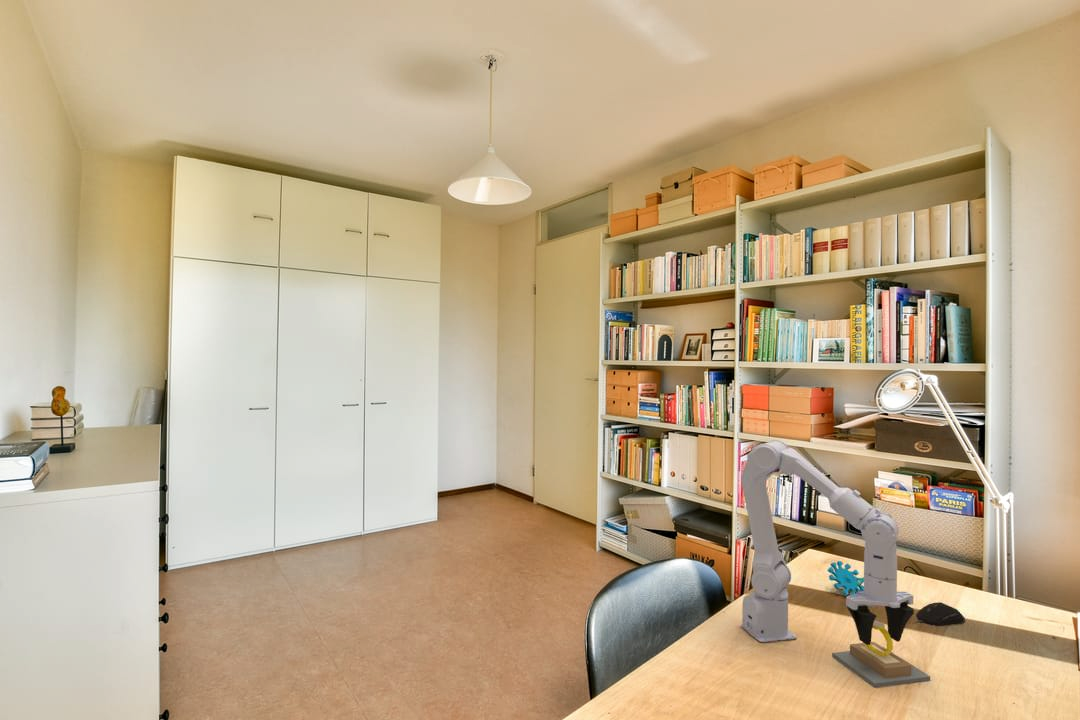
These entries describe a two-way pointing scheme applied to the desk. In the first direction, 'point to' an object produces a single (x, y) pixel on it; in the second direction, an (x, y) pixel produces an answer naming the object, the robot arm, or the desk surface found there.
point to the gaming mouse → (939, 615)
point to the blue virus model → (846, 578)
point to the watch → (881, 627)
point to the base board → (876, 676)
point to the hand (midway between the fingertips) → (879, 640)
